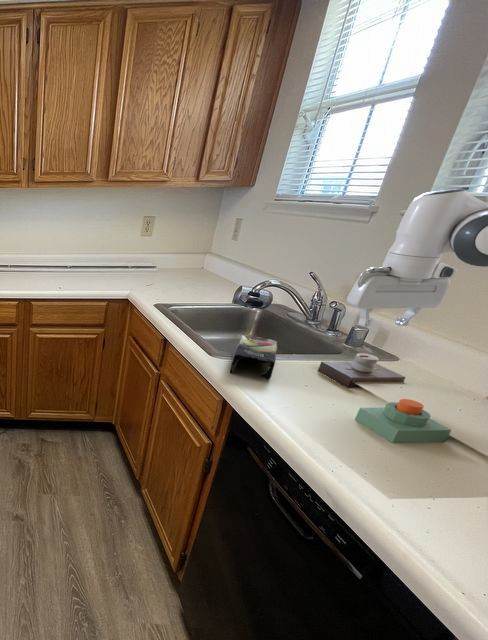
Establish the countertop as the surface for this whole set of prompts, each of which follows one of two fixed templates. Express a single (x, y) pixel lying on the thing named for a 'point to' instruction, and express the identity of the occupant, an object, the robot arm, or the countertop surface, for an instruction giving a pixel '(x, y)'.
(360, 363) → the lock knob
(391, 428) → the green stepped block
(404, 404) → the orange button cap
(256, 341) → the dark boxy piece
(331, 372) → the panel
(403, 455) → the countertop surface
